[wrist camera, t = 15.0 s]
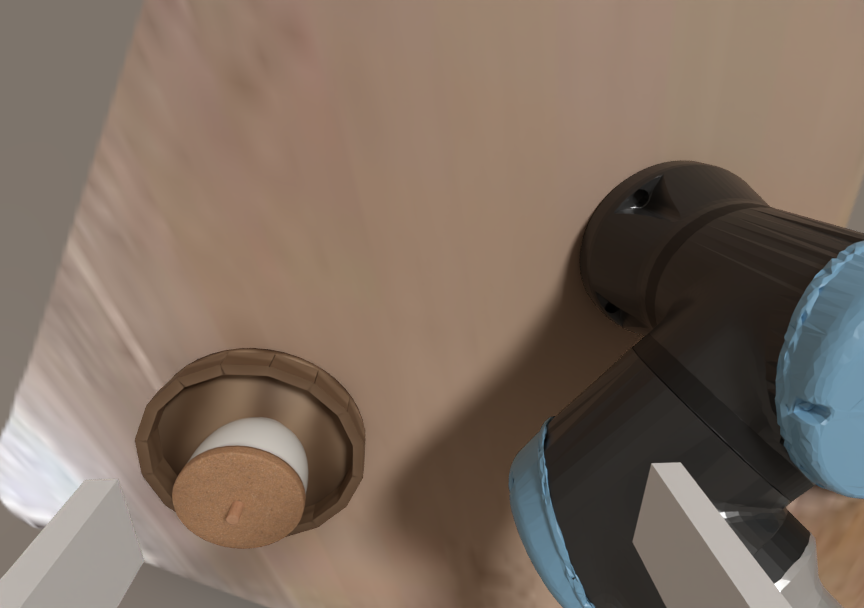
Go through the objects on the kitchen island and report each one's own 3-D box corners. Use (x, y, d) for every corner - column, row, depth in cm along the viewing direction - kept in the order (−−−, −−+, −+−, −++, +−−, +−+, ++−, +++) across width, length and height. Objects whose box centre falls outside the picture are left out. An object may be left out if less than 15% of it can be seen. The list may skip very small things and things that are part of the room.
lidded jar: (298, 495, 50) (278, 578, 41) (194, 467, 47) (149, 549, 39) (332, 416, 46) (318, 489, 37) (221, 382, 44) (178, 452, 35)
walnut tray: (368, 352, 44) (366, 369, 42) (363, 515, 52) (360, 538, 50) (136, 343, 42) (118, 360, 40) (168, 514, 51) (155, 538, 48)
